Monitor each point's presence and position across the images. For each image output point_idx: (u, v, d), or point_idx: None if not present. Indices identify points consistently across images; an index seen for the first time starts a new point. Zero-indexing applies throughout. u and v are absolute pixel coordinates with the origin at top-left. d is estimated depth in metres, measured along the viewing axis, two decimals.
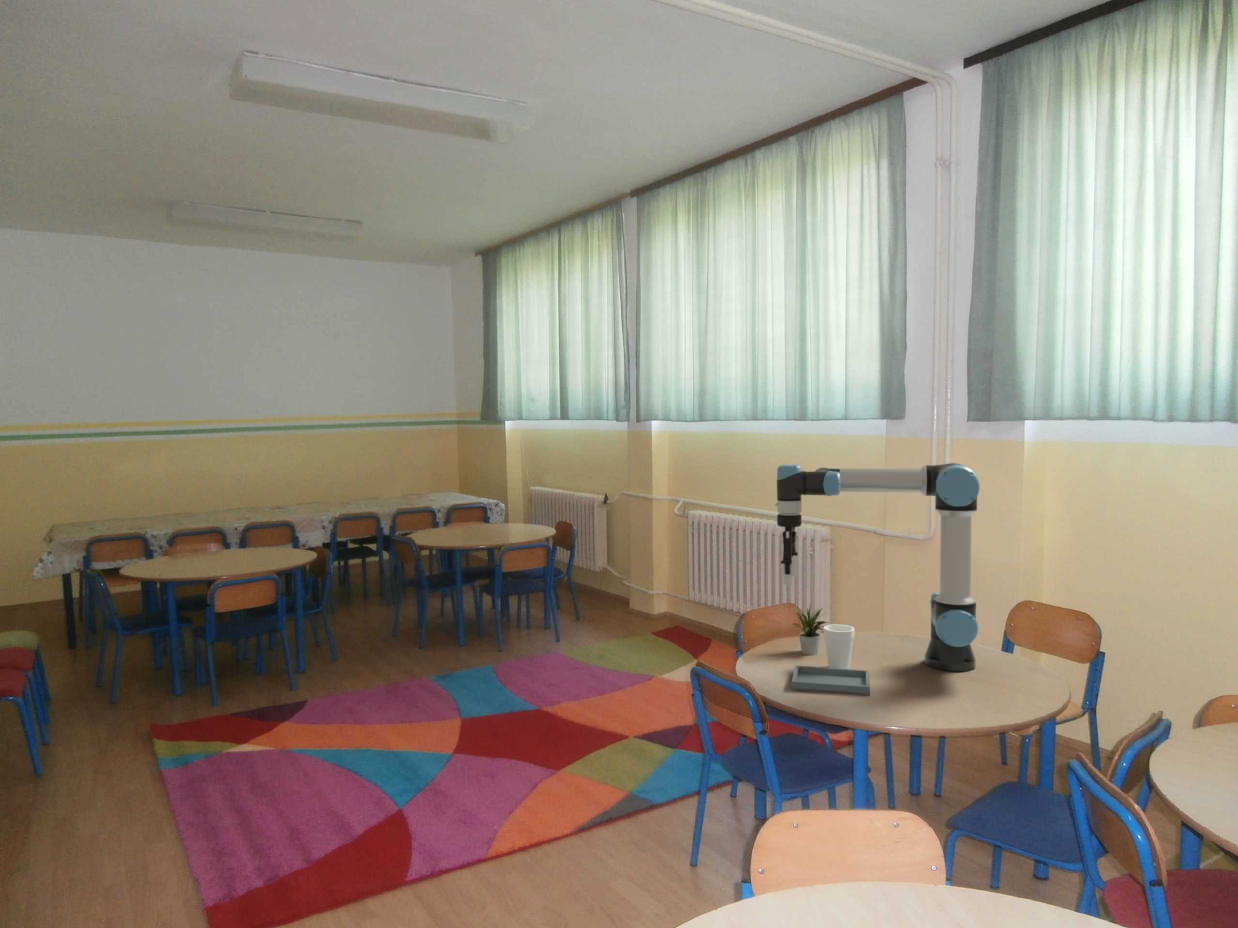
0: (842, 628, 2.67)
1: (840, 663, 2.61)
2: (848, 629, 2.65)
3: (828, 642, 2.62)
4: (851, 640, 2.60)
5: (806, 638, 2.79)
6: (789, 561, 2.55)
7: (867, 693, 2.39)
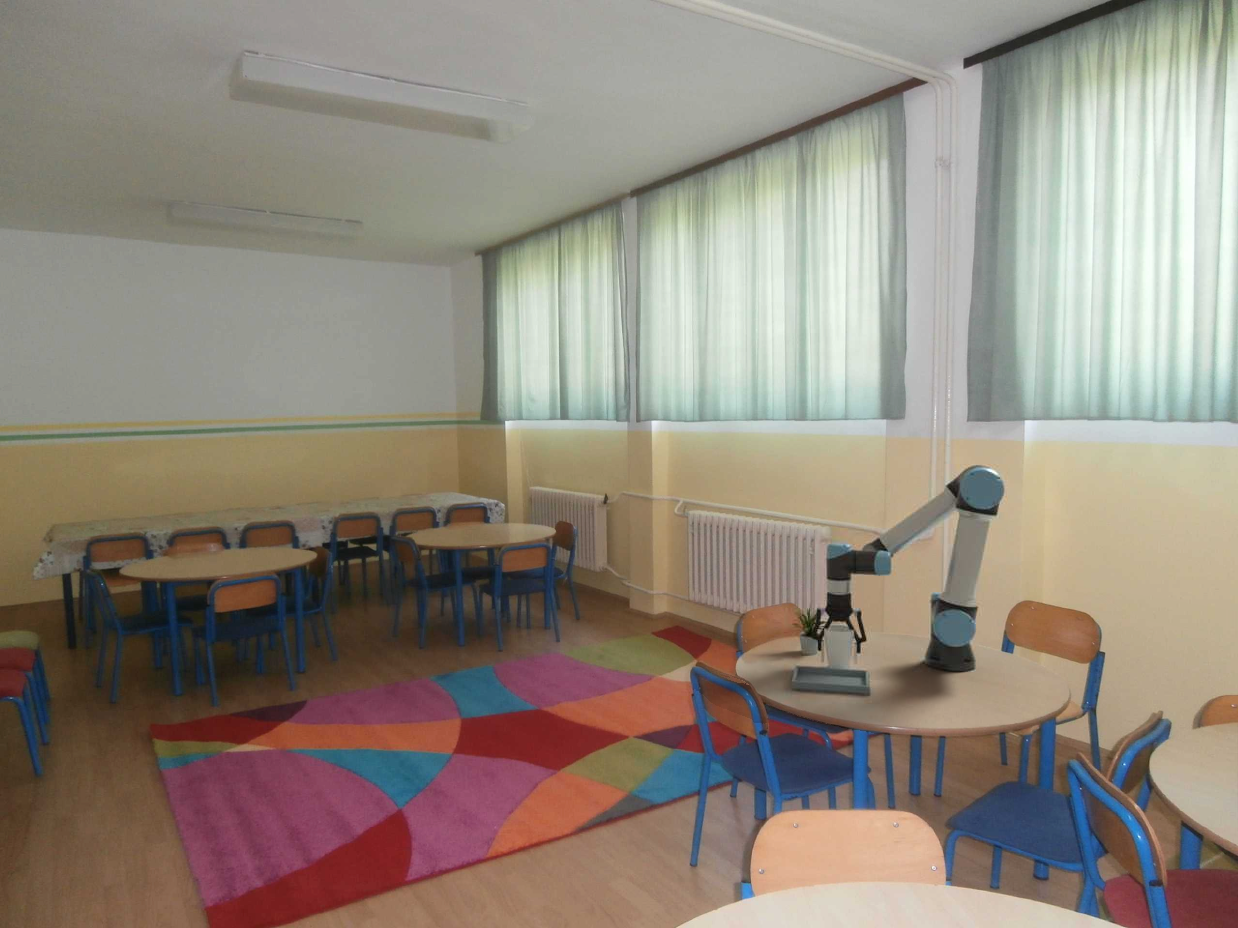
0: (842, 628, 2.67)
1: (840, 663, 2.61)
2: (848, 629, 2.65)
3: (828, 642, 2.62)
4: (851, 640, 2.61)
5: (806, 638, 2.79)
6: (812, 637, 2.65)
7: (867, 693, 2.39)
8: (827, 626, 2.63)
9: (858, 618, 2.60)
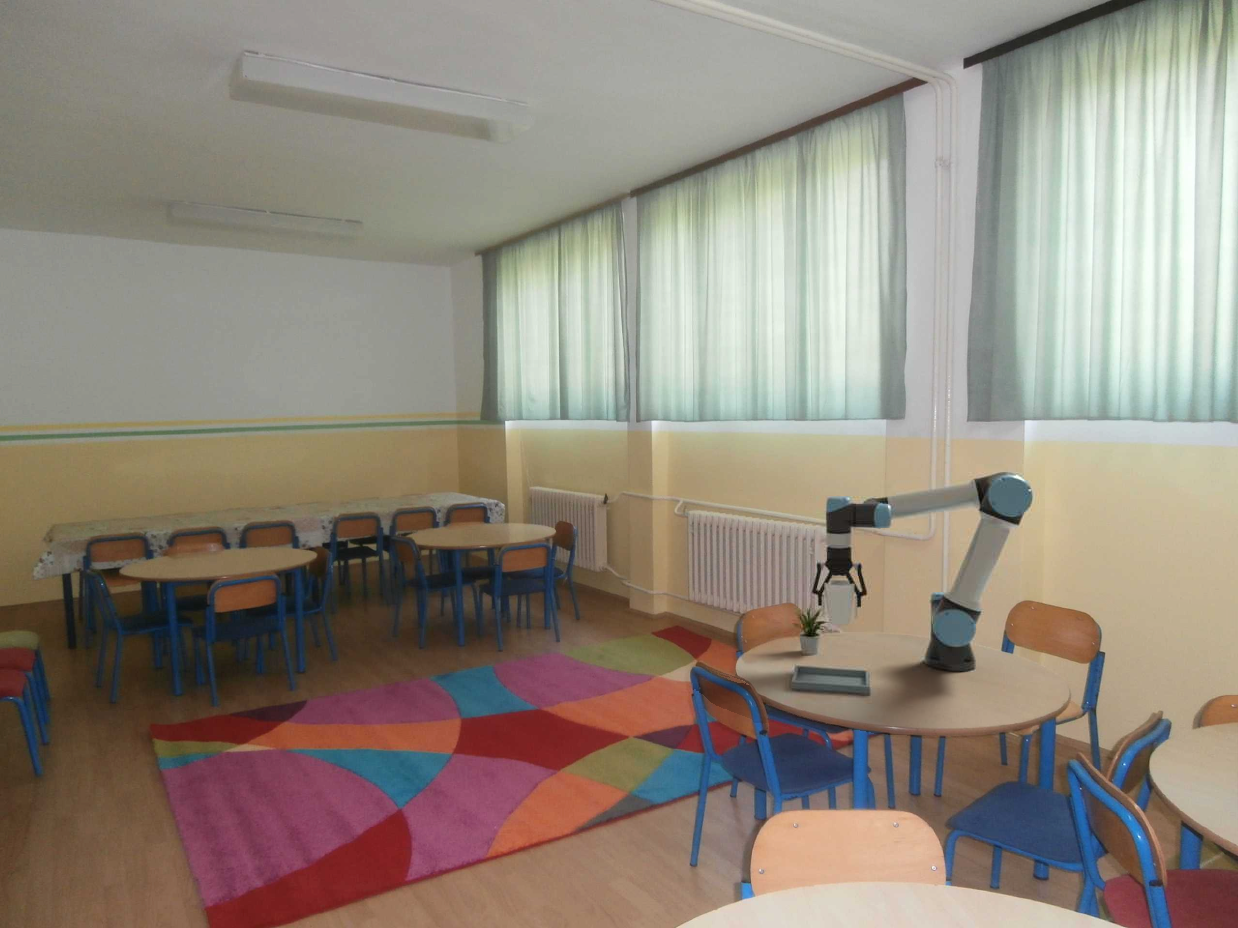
0: (842, 583, 2.66)
1: (840, 617, 2.60)
2: (848, 584, 2.64)
3: (828, 596, 2.61)
4: (851, 594, 2.60)
5: (806, 638, 2.79)
6: (812, 591, 2.64)
7: (867, 693, 2.39)
8: (827, 580, 2.62)
9: (858, 572, 2.59)
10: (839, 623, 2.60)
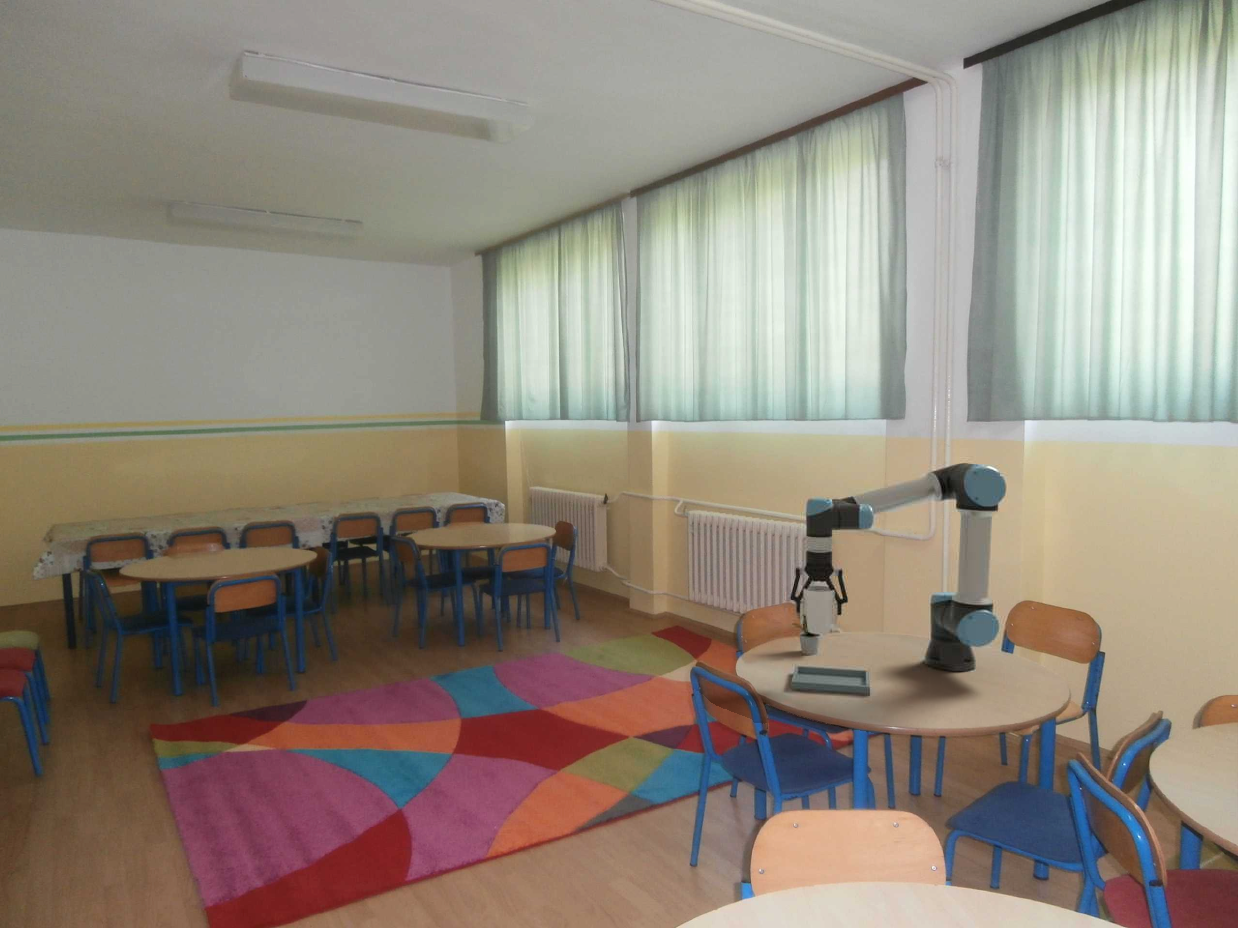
0: (822, 589, 2.52)
1: (819, 625, 2.46)
2: (829, 590, 2.50)
3: (807, 603, 2.47)
4: (831, 601, 2.46)
5: (806, 638, 2.79)
6: None
7: (867, 693, 2.39)
8: (806, 586, 2.48)
9: (839, 577, 2.46)
10: (818, 631, 2.46)
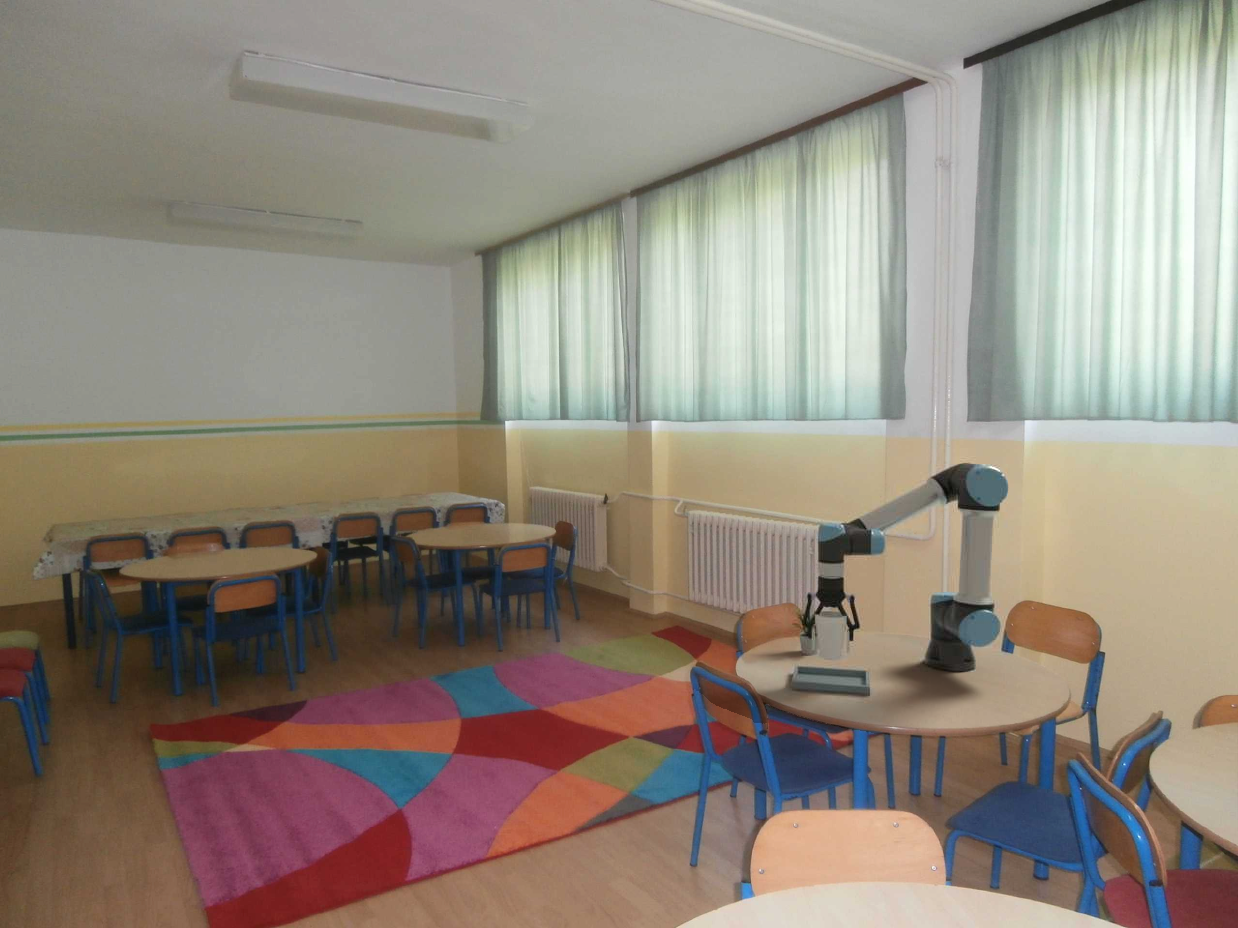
0: (834, 614, 2.52)
1: (831, 651, 2.45)
2: (840, 615, 2.50)
3: (819, 629, 2.46)
4: (843, 627, 2.45)
5: (806, 638, 2.79)
6: (802, 623, 2.50)
7: (867, 693, 2.39)
8: (818, 612, 2.48)
9: (851, 603, 2.45)
10: (830, 657, 2.46)
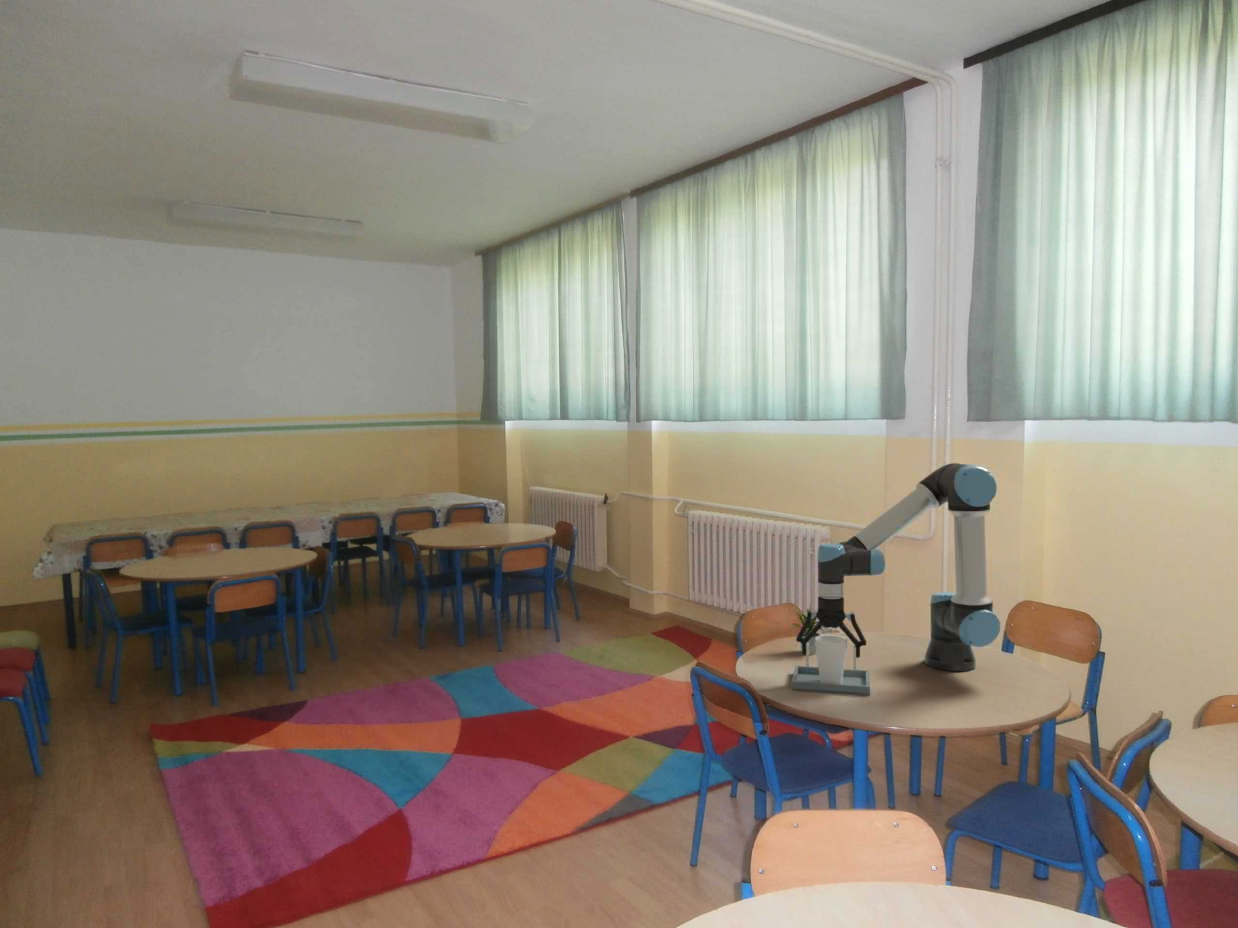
0: (834, 639, 2.52)
1: (832, 676, 2.46)
2: (841, 640, 2.51)
3: (819, 654, 2.47)
4: (844, 652, 2.46)
5: None
6: (796, 639, 2.51)
7: (867, 693, 2.39)
8: (815, 630, 2.48)
9: (852, 622, 2.45)
10: (830, 682, 2.46)
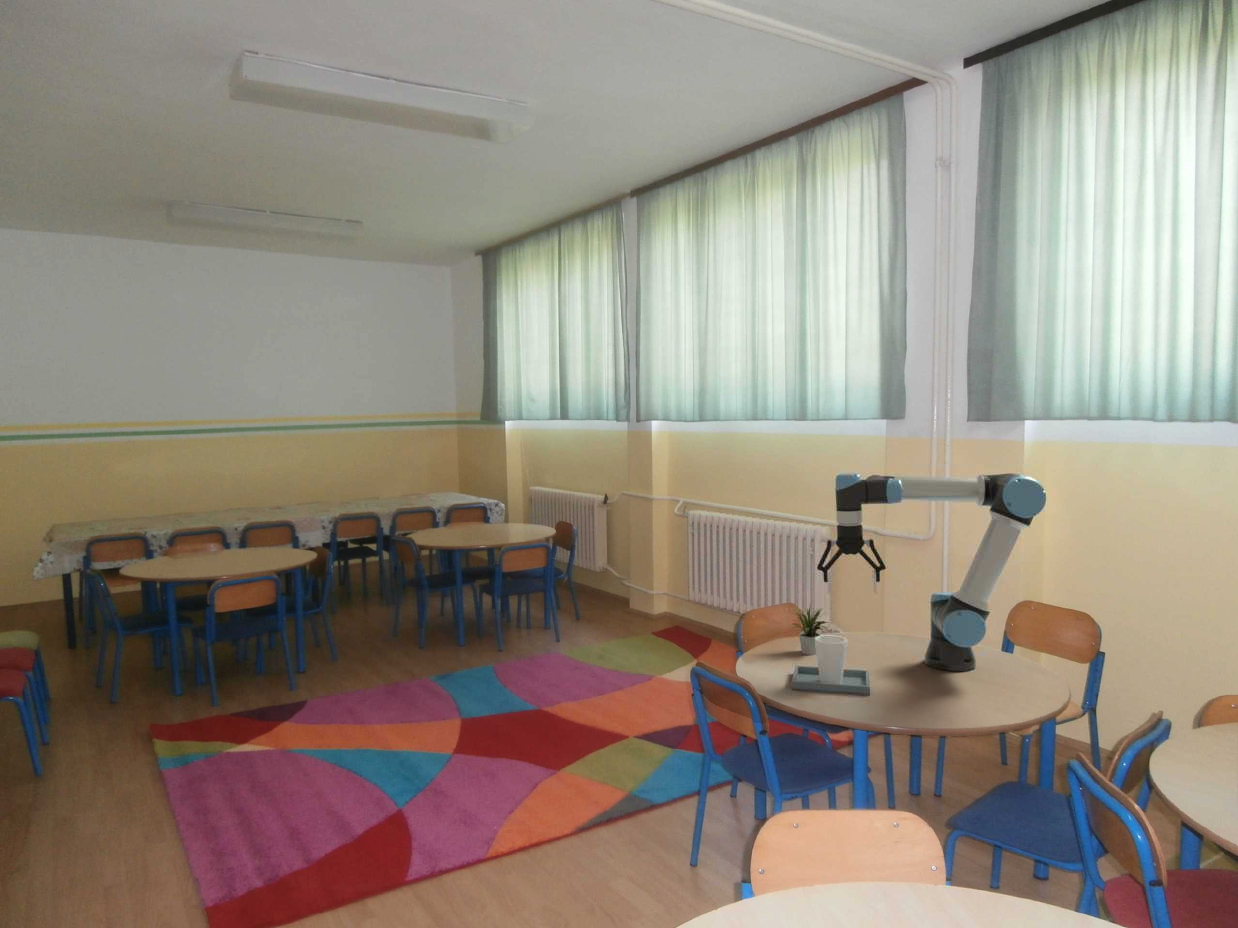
0: (834, 639, 2.52)
1: (832, 676, 2.46)
2: (841, 640, 2.50)
3: (819, 654, 2.47)
4: (844, 652, 2.46)
5: (806, 638, 2.79)
6: None
7: (867, 693, 2.39)
8: (836, 558, 2.56)
9: (871, 547, 2.53)
10: None
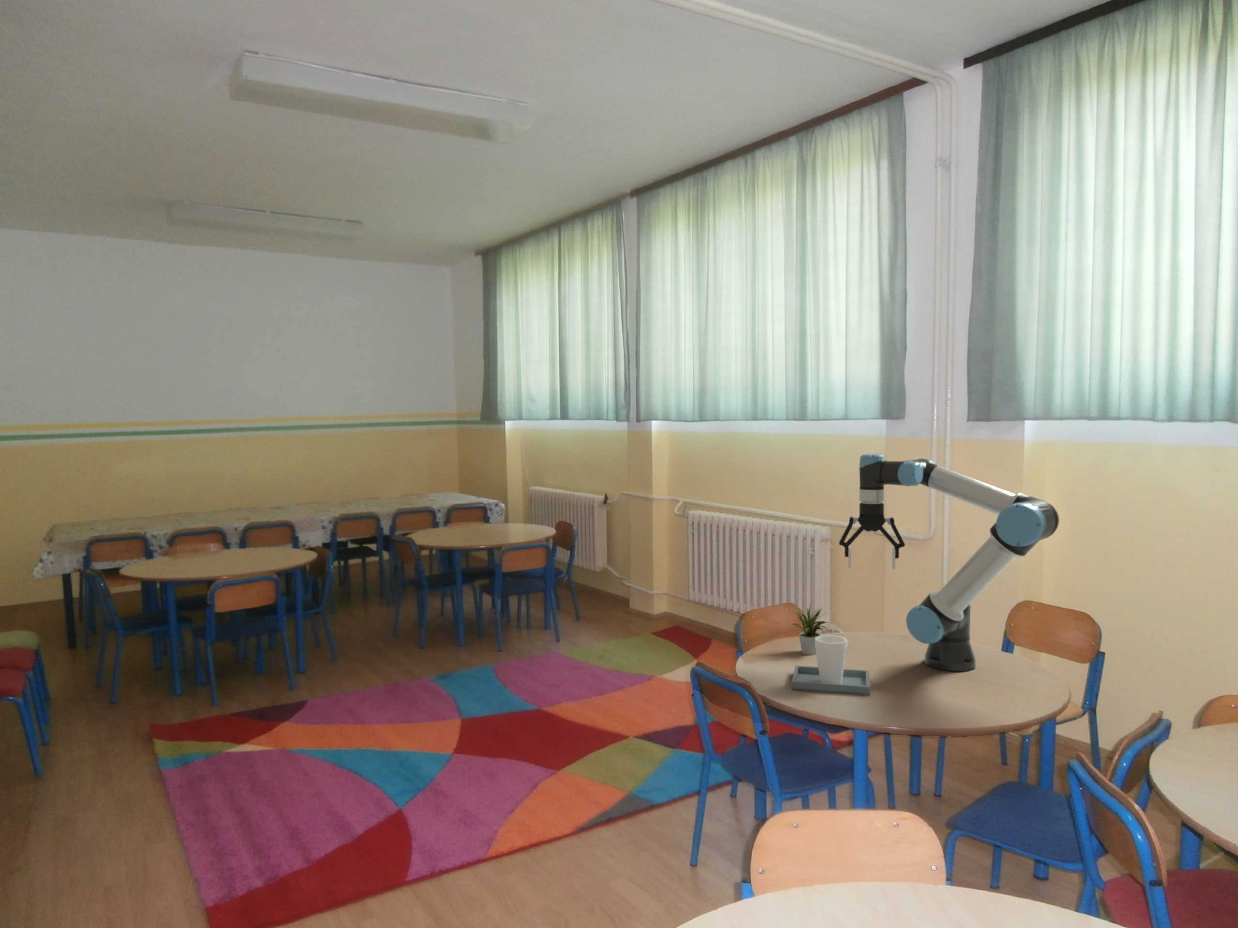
0: (834, 639, 2.52)
1: (832, 676, 2.46)
2: (841, 640, 2.50)
3: (819, 654, 2.47)
4: (844, 652, 2.46)
5: (806, 638, 2.79)
6: (839, 543, 2.71)
7: (867, 693, 2.39)
8: (857, 534, 2.69)
9: (892, 525, 2.65)
10: None
